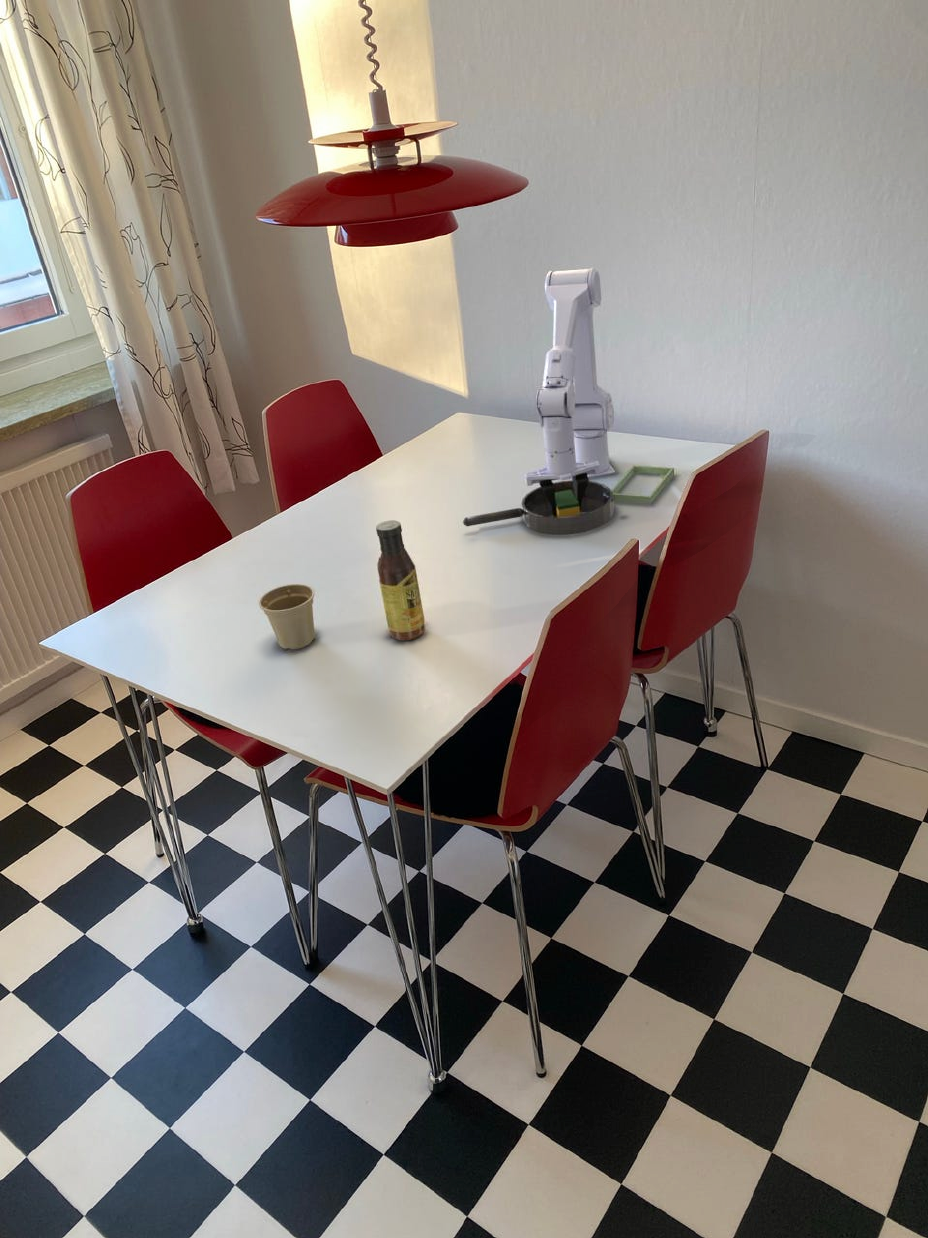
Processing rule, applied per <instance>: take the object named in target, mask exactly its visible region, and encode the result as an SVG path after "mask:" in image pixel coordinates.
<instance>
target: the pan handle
mask: <svg viewBox="0 0 928 1238" xmlns="http://www.w3.org/2000/svg"><path fill="white" fill-rule="evenodd" d="M522 517H523V510H522V507H516V508H511V509H505V510H499V511H495V512H489V513H482V514H478V515H472V516H467V517H464V518H463V520H462V523H463V526H465V527H471V526H477V525H483V524H488V523H494V522H500V521H506V520H511V519H517V518H522Z"/></svg>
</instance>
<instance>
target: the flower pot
mask: <svg viewBox="0 0 928 1238" xmlns="http://www.w3.org/2000/svg"><path fill="white" fill-rule="evenodd" d="M314 597H315V590H314V588H313V587H312V586H310V585H307V584H303V583H290V584H285V585H280V586H276V587H274V588H272V589H270V590H268V591H267V592H265V593H264V594H263V595H262V596H261V597H260V598H259V600H258V606H259V608H260V609H261V610H262V611H263V613H264V615H265V616H267V619H268V621H269V624H270V626H271V629H272V631H273V633H274V635H275V637H276V640H277V642H278V644H279V646H280V648H282V649H285V650H286V649H290V650H299V649H302V648H305V647H307V646H309V645H310V644H311V643H312V642H313V640H314V639H315V638H316V632H315V622H314V609H313V608H314V607H313V604H314Z"/></svg>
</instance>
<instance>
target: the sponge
mask: <svg viewBox="0 0 928 1238" xmlns="http://www.w3.org/2000/svg"><path fill="white" fill-rule="evenodd" d="M555 503H556V510H557V516H556V517H570V516H576V515H580V509H579V502H578V500H577V499H576V497H575V495H574V493H573V492H572V490H566V491H561V492H555Z"/></svg>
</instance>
